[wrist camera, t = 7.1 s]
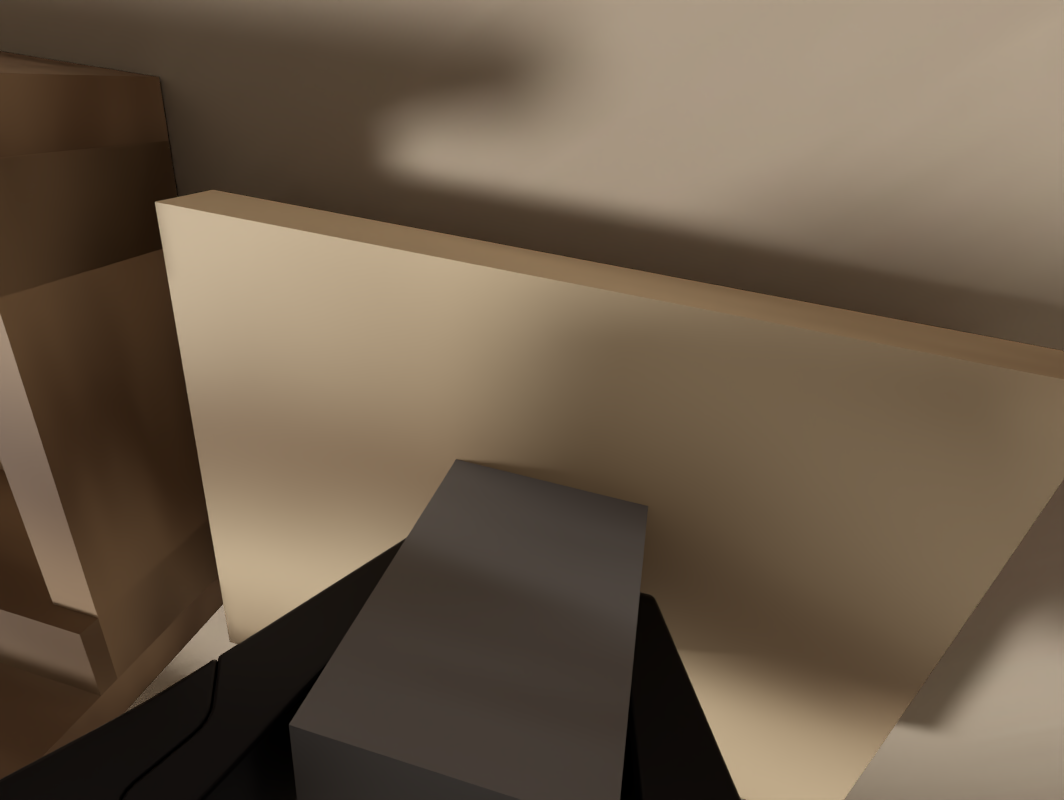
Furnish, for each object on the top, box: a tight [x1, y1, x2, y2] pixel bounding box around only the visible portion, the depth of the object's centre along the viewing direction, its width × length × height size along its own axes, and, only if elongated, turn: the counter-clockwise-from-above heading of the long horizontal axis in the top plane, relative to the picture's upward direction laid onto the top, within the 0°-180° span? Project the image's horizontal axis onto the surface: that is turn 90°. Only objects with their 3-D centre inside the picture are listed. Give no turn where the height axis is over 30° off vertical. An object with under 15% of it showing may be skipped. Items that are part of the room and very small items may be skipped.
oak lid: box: [155, 190, 1064, 800], centre depth 8 cm, size 9×12×6 cm
